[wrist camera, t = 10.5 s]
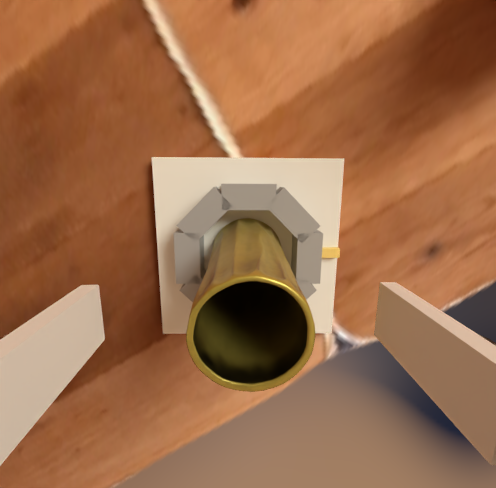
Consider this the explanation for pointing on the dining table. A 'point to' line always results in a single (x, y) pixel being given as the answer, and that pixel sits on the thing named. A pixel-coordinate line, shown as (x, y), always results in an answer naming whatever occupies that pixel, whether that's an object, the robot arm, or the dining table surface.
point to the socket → (239, 207)
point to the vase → (249, 312)
